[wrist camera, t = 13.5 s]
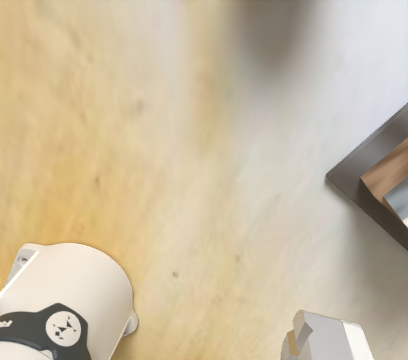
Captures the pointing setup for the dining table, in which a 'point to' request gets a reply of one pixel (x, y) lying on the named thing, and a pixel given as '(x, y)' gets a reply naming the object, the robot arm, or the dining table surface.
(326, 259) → the dining table surface
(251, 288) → the dining table surface
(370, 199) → the stacked open-top box
